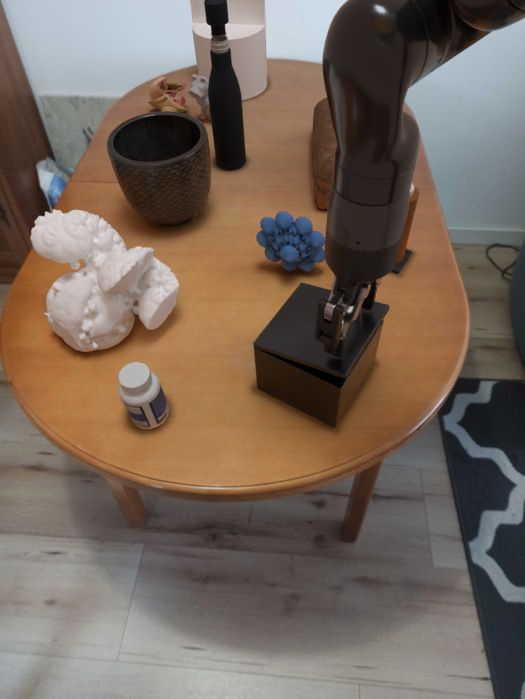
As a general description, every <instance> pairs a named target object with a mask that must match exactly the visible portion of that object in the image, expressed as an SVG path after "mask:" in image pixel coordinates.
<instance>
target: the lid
mask: <svg viewBox="0 0 525 699" xmlns="http://www.w3.org/2000/svg"><path fill="white" fill-rule="evenodd" d="M331 291H332V289H330V288H329V289H328V288H326V287H321V286H317V285H313V284H310V283H306V282H300V283H299V284H298V286H297V287H296V288H295V289H294V290H293V292H292V293H291V294H290V295H289V297H288V298H287V300H285V302H284V303H283V305H281V307H280V308H279V309H278V311H277V312H276V313H275V314H274V316H273V317H272V318H271V320H270V321H269V322H268V323H267V324H266V326H265V327H263V328H264V329H262V331H261V332H260V334H259V335H258V336H257V338H255V340H254V341H253V342H252V345H253V348H254V347H255V348H258V349H261V350H264V351H266V352H269V353H272V354H275V355H278V356H281V357H284V358H286V359H289V360H292V361H295V362H298V363H301V364H304V365H307V366H309V367H312V368H315V369H318V370H321V371H324V372H327V373H329V374H332V375H335V376H338V377H341V378H344V379H346V378H347V376H348V375H349V373H350V371H351V370H352V368H353V367H354V365H355V363H356V362H357V360H358V359H359V357H360V355H361V354H362V352H363V351H364V349H365V347H366V346H367V344H368V343H369V341H370V340H371V338H372V336H373V335H374V333H375V332H376V330H377V328H378V327H379V325H380V324H381V322H382V320H384V319H385V317H386V316H387V314H388V312H389V311H390V304H386V303H384V302H380V301H375V302H374V306H373V308H372V309H371V310H366V309H364V308H360V311H359V314H358V316H357V319H356V320H355V321H353V322H350V325H349V327H348V330H347V333H346V337H345V343H344V350H343V353H342V355H341V356H340V357H335V356H333V355H331V354H328V353H326V352H325V351H324V343H322V342H320V341H317V340H315V331H316V321H317V312H318V304H319V301H320V300H321V299H322V298H324V299H327V300H328V299H329V297H330V294H331ZM363 301H364V300H363ZM341 306H344V307H345V309H344V310H345V311H347V312H349V313H351V312H352V309H353V307H354V306H352V307H351V306H348V305H345V304H343V303H342V305H341ZM342 325H343V321H342Z"/></svg>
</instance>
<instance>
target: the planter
mask: <svg viewBox="0 0 525 699" xmlns="http://www.w3.org/2000/svg"><path fill="white" fill-rule="evenodd" d="M106 150H107V154H108V157H109V160H110V163H111V167H112V170H113V172H114V175H115V178H116V180H117V183H118V185H119V188H120V190H121V193H122V194H123V196H124V197H125V200H126V202H127V203H128V204H129V206H130V207H131V209H132V210H133V211H134V212H135V213H137V215H138V216H140V217H141V218H143V219H145V220H147V221H149V222H151V223H153V224H155V225H156V226H159V227H162V228H168V229H173V228H179V227H182V226H184V225H187V224H189V223H190V222H191V221H192V220H193V219H194V218H195V217H196V215H197V214H198V213H199V212H200V211H201V210H202V209H203V208H204V206H205V204H206V203H207V200H208V198H209V194H210V191H211V184H212V165H211V164H212V163H211V162H212V161H211V149H210V142H209V134H208V131H207V127H206V126H205V124H204V123H203V122H202V121H201V120H199V119H198V118H197V117H195V116H193V115H190V114H187V113H185V112H181V113H179V112H171V111H162V112H161V111H153V112H146V113H143V114H138V115H136V116H133V117H130V118H128V119H127V120H125V121H122V122H121V123H120V124H118V125H117V126H116V127H115V128H114V129H112V131H111V132H110V133H109V135H108V137H107V141H106Z"/></svg>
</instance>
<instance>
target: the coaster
mask: <svg viewBox="0 0 525 699" xmlns="http://www.w3.org/2000/svg"><path fill="white" fill-rule="evenodd" d="M412 253H413V251H412V250H411V249H408V248H406V251H405V255H404V259H403V260H402V262H401V263H399V264H397V265H395V267H394V268H393V270H392V271H391V272H392V273H395V274H397V275H398V274H400V272H401V270H402V269H403V268H404V266H405V264H406V263H407V261H408V260H409V259H410V257H411V255H412Z"/></svg>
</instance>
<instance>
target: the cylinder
mask: <svg viewBox="0 0 525 699" xmlns="http://www.w3.org/2000/svg"><path fill="white" fill-rule="evenodd" d="M204 1H205V0H189V3H190V11H191V17H192V20H191V21H192V25H191V31H192V38H193V40H192V41H193V46H194V47H193V48H194V53H195V55H194V56H195V60H196V61H195V62H196V68H197V75H198V76H204V77H206V78H207V79H208V77H209V76H210V72H211V67H212V65H211V56H210V50H211V44H210V41H211V38H212V36H211V26H210V25H208V24H207V23H206V15H205V6H204ZM227 6H228V19H229V22H228V23H227V24H225V30H226V35H225V36H227V38H228V40H229V43H228V44H229V48H230V50H231V59H232V66H233V69H234V71H235V74H236V76H237V79H238V82H239V86H240V90H241V96H242V101H246V100H249V99H253V98H254V97H256V96H259V95H260V94H262V93H263V92H265V90H266V88H267V87H268V64H267V63H268V60H267V28H266V27H267V26H266V0H227ZM258 90H259V91H258ZM254 92H255V93H254Z"/></svg>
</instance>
